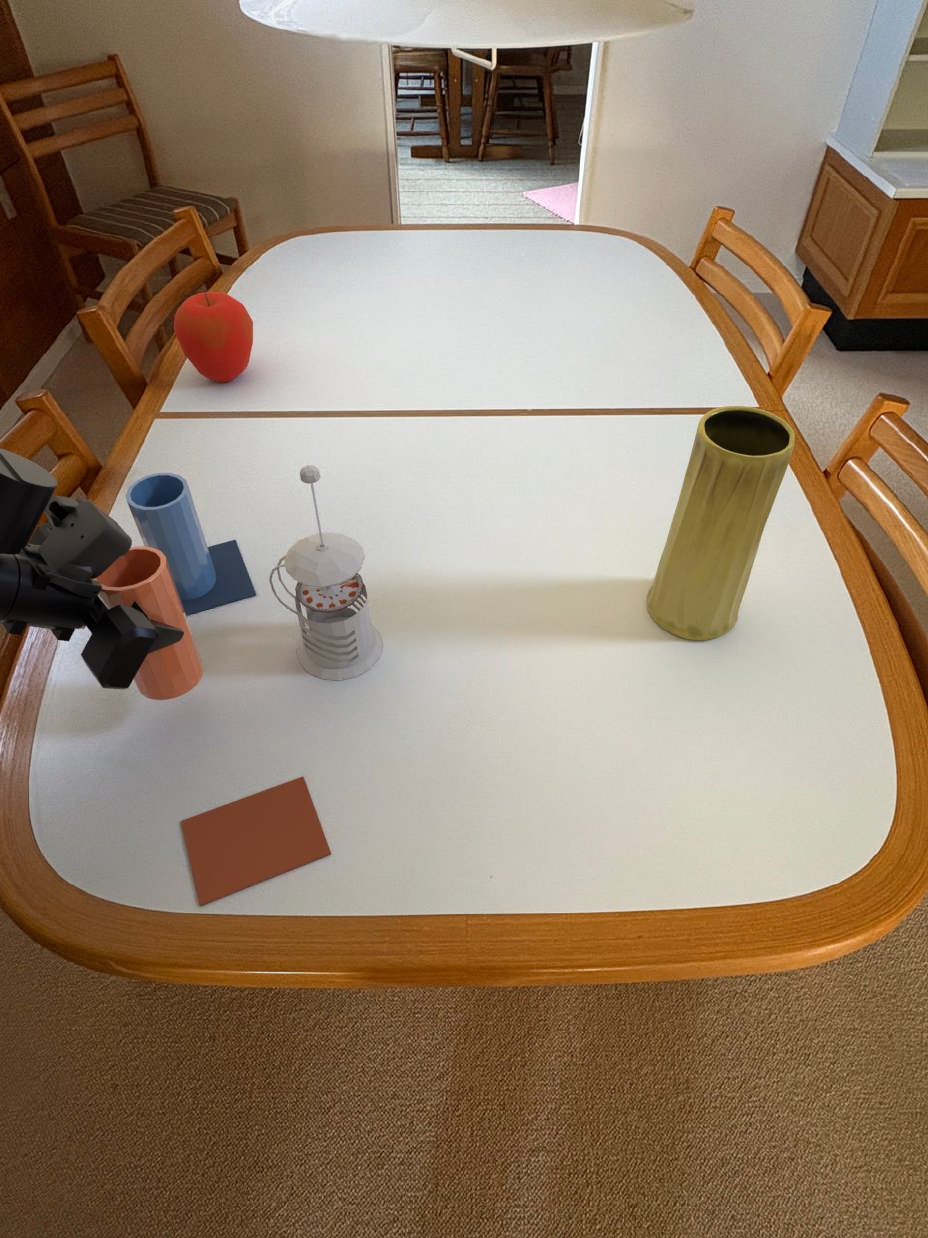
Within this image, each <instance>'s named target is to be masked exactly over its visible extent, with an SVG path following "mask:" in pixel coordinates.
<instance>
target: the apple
mask: <svg viewBox="0 0 928 1238" xmlns="http://www.w3.org/2000/svg"><path fill="white" fill-rule="evenodd" d="M173 330H174V333H175V336H176V339H177V341H178V343H179V345H180V348H181V350H182V352H183V354H184V356H185V357H186V359H188V361H189V362H190V364H192V366H193V367H194V368H195V369H196V371H197V372H198V374H200V375H202V377H204V378H207V379H209V380H210V381H213V382H215V383H219V384H224V383H225V384H226V383H229V382H232V381H234V380H235V379H237V377H239V376H240V375H241V374H242V373H243V372H244V371H245V370H246V369H247V368H248V366H249V363H250V358H251V355H252V354H251V353H252V349H253V344H254V320H253V319H252V316H251V315H250V314H249V311H248V310H247V308H246V306H245V305H244V304H243V303H242V302H240V301H239V300H238V299H236V298H234V297H232V296H231V295H230V294H228V293H225V292H221V291H207V292H206V291H205V292H198V293H195V294H194V295H190V296H189V297H188V298H186V299H185V300H184V301H183V302H182V303H181V305H180V306H179V307H178V308H177V310H176V312H175V314H174V322H173Z"/></svg>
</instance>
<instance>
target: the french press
mask: <svg viewBox="0 0 928 1238" xmlns="http://www.w3.org/2000/svg"><path fill="white" fill-rule="evenodd" d="M299 477H300V481H301V482H302V483H304V484H310V488H311V494H312V499H313V505H314V511H315V516H316V521H317V523H316V524H317V528H318V532H319V533H315V534H310V535H309V536H306V537H304V538H301V539H299V540H297V542H295V543H294V544H293V545H292V546H291V547H290V548H289V549H288V551H287V552H286V554H285V555H283V556H282V557H281V558H280V559H279V561H278V562H277V564H276V566H275V567H274V568H272V570H271V572H270V574H269V579H268V580H269V584H270V588H271V591H272V593H273V595H274V596H275V598H276V599H277V600H278V602H279V603H280V604H281V605H282V606H283V607H284V608H286V609H287V610H288V611H290V612H292V613H293V614H295V615H297V619H298V624H299V627H300V632H301V636H300V638H299V642H298V644H297V647H296V654H297V659H298V663H299V664H300V665H301V666H302V667H303V669H304V670H305V671H306V672H307V673H308V674H310V675H312V676H314V677H316V678H319V679H320V680H329V681H336V682H337V681H343V680H349V679H353V678H356V677H358V676H360V675H362V674H363V673H365V672H367V671H369V670H370V669H372V667H373V666H374V665H375V664H376V663H377V662H378V660H379V659H380V658H381V654H382V650H383V648H384V647H383V646H384V643H383V639H382V636H381V632H380V631H379V630H378V629H377V628H376V627H375V626H374V625H373V624H372V622H371V621H372V620H371V612H370V605H369V598H368V592H367V588H366V585H365V583H364V580H363V577H362V576H361V574H359V572H360V571H361V569H362V568H363V565H364V562H365V558H366V555H365V551H364V548H363V546H362V545H361V544H360V543H359V542H358V541H357V540H356V539H355V538H353V537H351V536H349V535H346V534H344V533H339V532H328V531H327V532H322V528H321V521H320V515H319V510H318V504H317V499H316V494H315V493H316V492H315V486H314V483H317V482H319V481H320V480H321V472H320V469H319V468H318V467H317V466H316V465H312V464H307V465H305V466H303V467H302V468H301V469H300V470H299ZM283 561H284V563H283V564H282V562H283ZM280 568H284V569H285V572H286V573H287V574H288V575H289V576H290V577H291V579H292V580H294V581H296V585H295V588H294V591H295V594H293V593H292V592H291V591H289V589H288V588H287V586H286V585H285V583H284V581H283V579H282V577H281V571H280ZM275 572H277V577H278V581H279V582H280V583H281V586H282V587H283V588H284V590H285V591H286V593H287V594H288V595H290V597H292V598H293V599H294V603H295V609H293V608H292V607H290V606H289V605H287V604H286V603H285V602H283V600H282V599H281V598H280V597H279V596H278V594H277V592H276V590H275V588H274V584H273V575H274V573H275ZM360 600H361V601H360ZM355 603H357V604H358V605H359V606H360V607H359V606H358V605H357V604H355ZM301 605H302V606H303V607H304V608H305V609H304V610H305V613H306V616H304V615H303V614H304V613H303V610H302V606H301ZM351 606H352V607H354V608H355V609H356V610H357V611H356V610H355V609H353V608H351ZM306 626H308V627H306Z"/></svg>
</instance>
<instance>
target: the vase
mask: <svg viewBox="0 0 928 1238" xmlns="http://www.w3.org/2000/svg"><path fill="white" fill-rule="evenodd" d="M795 442H796V433H795V431H794V429H793V428H792V426H791V425H790V424H789V423H788V422H787V421H786V420H785V419H783V418H781V417H780V416H778V415H776V414H775V413H772V412H770V411H768V410H764V409H761V408H757V407H753V406H744V405H728V406H727V405H726V406H720V407H716V408H713V409H711V410H709V411H707V412H706V413H705V414H703V415H702V416H701V418H700V419H699V421H698V424H697V427H696V433H695V436H694V441H693V445H692V448H691V452H690V456H689V460H688V463H687V466H686V469H685V470H686V471H685V474H684V478H683V482H682V485H681V488H680V493H679V495H678V500H677V504H676V507H675V509H674V513H673V517H672V520H671V522H670V523H671V524H670V527H669V530H668V534H667V537H666V540H665V544H664V547H663V550H662V553H661V556H660V559H659V562H658V566H657V570H656V571H655V576H654V578H653V582H652V584H651V586H650V587H649V590H648V592H647V595H646V608H647V610H648V612H649V614H650V616H651V618H652V619H653V620H654V622H656V624H657V625H659V626H660V627H661V628H662V629H664V630H665V631H667V632H668V633H670V634H672V635H675V636H677V637H679V638H682V639H687V640H691V641H692V640H694V641H708V640H713V639H714V640H715V639H717V638H720V637H722V636H725V635H726V634H728V633H729V632H730V631H731V630H733V628H734V627H735V625H736V624H737V622H738V619H739V611H740V608H741V604H742V601H743V598H744V595H745V592H746V589H747V586H748V583H749V580H750V577H751V574H752V570H753V566H754V563H755V560H756V557H757V553H758V551H759V548H760V547H759V546H760V543H761V539H762V537H763V534H764V530H765V527H766V524H767V522H768V519H769V516H770V514H771V512H772V509H773V506H774V504H775V500H776V498H777V495H778V492H779V490H780V488H781V485H782V482H783V480H784V477H785V475H786V472H787V469H788V466H789V464H790V461H791V458H792V455H793V451H794V447H795V444H796V443H795Z"/></svg>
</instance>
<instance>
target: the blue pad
mask: <svg viewBox="0 0 928 1238" xmlns="http://www.w3.org/2000/svg"><path fill="white" fill-rule="evenodd" d="M207 547H208V550H209V553H210V556H211V560H212V563H213V566H214V569H215V573H216V582H215V585H214V586H213V588H212V589H211V590H210V591H209V592H207V593H206V594H205V595H203V596H201V597H199V598H196V599H192V600H185V601H181V603H182V605H183V608H184V611H185V614H186V617H187V616H190V615H195V614H197V613H201V612H205V611H207V610H211V609H214V608H217V607H222V606H224V605H229V604H231V603H234V602H239V601H242V600H245V599H248V598H249V599H250V598H252V597H256V596H257V593H256V590H255V587H254V585H253V582H252V579H251V577H250V575H249V572H248V569H247V566H246V564H245V561H244V557H243V556H242V553H241V550H240V547H239V545H238V543H237V540H236V539H231V540H228V541H224V542H221V543H217V544H213V545H209V546H207Z"/></svg>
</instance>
